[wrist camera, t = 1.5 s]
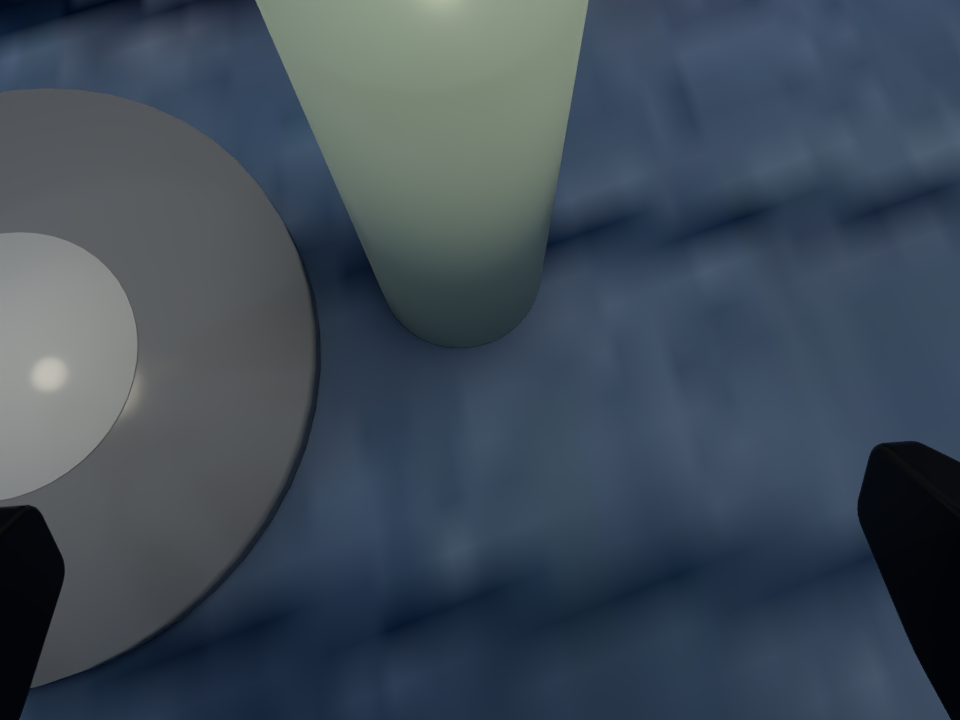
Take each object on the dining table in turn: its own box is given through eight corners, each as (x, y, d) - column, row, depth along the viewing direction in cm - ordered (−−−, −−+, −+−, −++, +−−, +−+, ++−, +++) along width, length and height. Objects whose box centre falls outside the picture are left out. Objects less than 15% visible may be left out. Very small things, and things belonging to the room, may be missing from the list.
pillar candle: (504, 372, 22) (521, 106, 9) (354, 312, 23) (156, -22, 9) (564, 229, 23) (658, -197, 10) (419, 176, 24) (324, -296, 11)
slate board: (141, 804, 20) (116, 822, 18) (-400, 536, 22) (-455, 535, 20) (415, 220, 24) (410, 202, 22) (-63, 40, 26) (-92, 14, 24)
